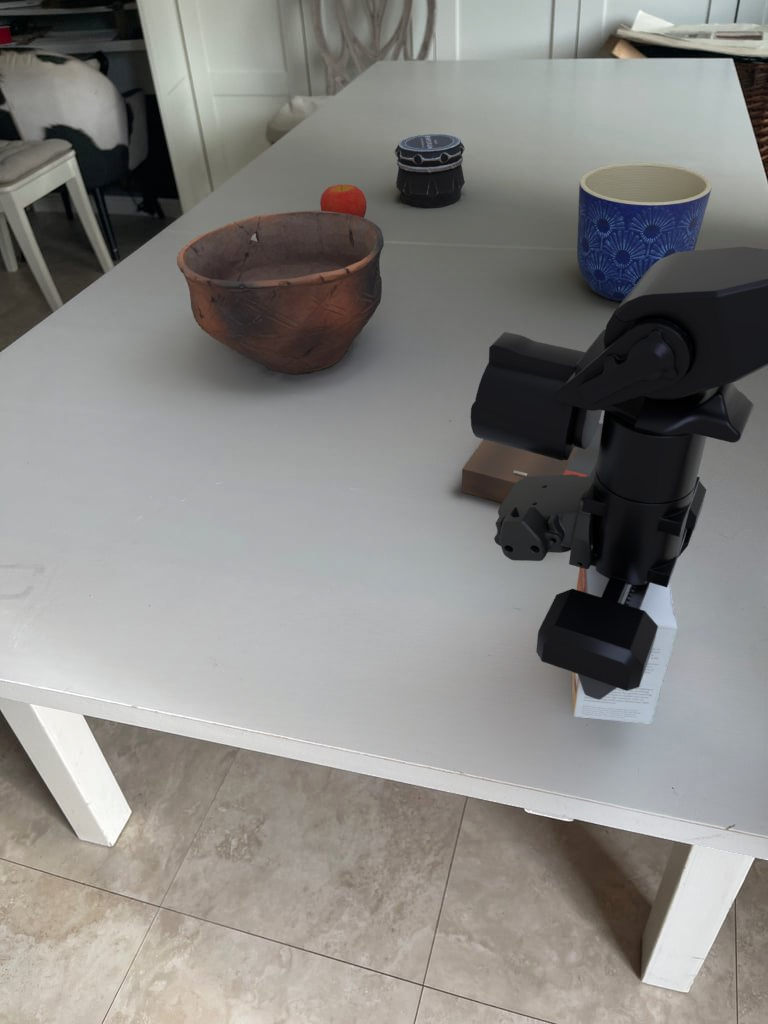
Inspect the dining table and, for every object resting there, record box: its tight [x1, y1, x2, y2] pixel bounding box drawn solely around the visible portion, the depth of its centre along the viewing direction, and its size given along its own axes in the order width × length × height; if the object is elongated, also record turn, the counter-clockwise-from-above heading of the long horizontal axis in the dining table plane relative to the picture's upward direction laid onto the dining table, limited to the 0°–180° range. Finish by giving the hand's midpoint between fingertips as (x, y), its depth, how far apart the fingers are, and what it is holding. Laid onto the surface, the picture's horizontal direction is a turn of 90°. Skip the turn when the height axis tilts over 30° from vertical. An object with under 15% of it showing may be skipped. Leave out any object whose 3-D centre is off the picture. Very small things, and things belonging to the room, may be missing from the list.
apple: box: [319, 184, 367, 218], centre depth 138 cm, size 8×8×8 cm
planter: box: [576, 162, 713, 302], centre depth 112 cm, size 17×17×15 cm
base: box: [461, 439, 578, 504], centre depth 80 cm, size 19×19×3 cm
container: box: [394, 133, 466, 209], centre depth 148 cm, size 13×13×10 cm
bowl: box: [176, 210, 385, 375], centre depth 102 cm, size 25×25×15 cm
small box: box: [571, 565, 679, 725], centre depth 56 cm, size 8×6×10 cm
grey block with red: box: [563, 422, 603, 477], centre depth 75 cm, size 10×2×5 cm, turn 152°
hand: (611, 648), depth 58 cm, fingers closed on small box, 9 cm apart
